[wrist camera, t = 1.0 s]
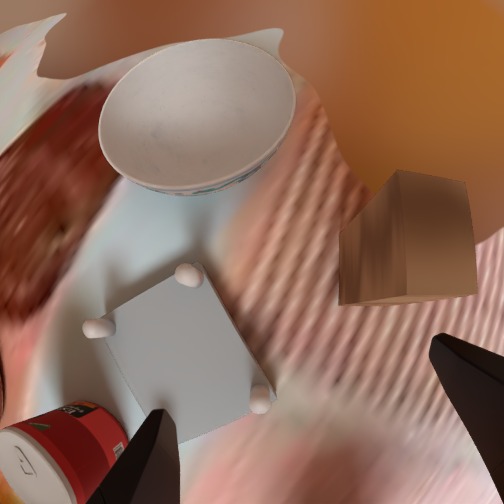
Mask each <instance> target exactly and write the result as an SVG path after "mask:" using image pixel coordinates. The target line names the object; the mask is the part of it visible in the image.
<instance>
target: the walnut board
mask: <svg viewBox="0 0 504 504" xmlns="http://www.w3.org/2000/svg"><path fill="white" fill-rule="evenodd" d="M475 294H478V287H477V266H476V253H475V243H474V234H473V226H472V219H471V212H470V206H469V200H468V195H467V190H466V185H465V182H461V181H456V180H452V179H447V178H442V177H437V176H432V175H426V174H421V173H414V172H409V171H403V170H397V171H396V172H395V173H394V174H393V175H392V176H391V178H390V179H389V180H388V181H387V182H386V183H385V184H384V185H383V187H382V188H381V189H380V190H379V191H378V192H377V194H375V196H374V197H373V198H372V199H371V200H370V201H369V202H368V203H367V204H366V206H365V207H364V208H363V209H362V210H361V211H360V212H359V213H358V214H357V215H356V216H355V218H354V219H353V220H352V221H351V222H350V223H349V224H348V225H347V226H346V227H345V228H344V229H343V230H342V232H341V233H340V234H339V306H392V305H401V304H410V303H418V302H426V301H434V300H441V299H449V298H456V297H462V296H469V295H475Z"/></svg>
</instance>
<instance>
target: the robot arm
mask: <svg viewBox="0 0 504 504" xmlns="http://www.w3.org/2000/svg"><path fill="white" fill-rule="evenodd" d="M429 359H430V361H431V363H432V365H433V367H434V369H435V371H436V374H437V376H438V378H439V380H440V382H441V384H442V386H443V388H444V390H445V392H446V394H447V396H448V398H449V399H450V401H451V403H452V404H453V406H454V408H455V409H456V411H457V413H458V415H459V416H460V418H461V420H462V422H463V423H464V425H465V427H466V429H467V431H468V432H469V434H470V436H471V438H472V440H473V442H474V444H475V445H476V447H477V449H478V451H479V453H480V455H481V457H482V459H483V461H484V463H485V465H486V467H487V469H488V471H489V473H490V476H491V478H492V480H493V482H494V484H495V486H496V488H497V491H498V493H499V495H500V497H501V500H502V502H503V504H504V357H503V356H501V355H498V354H496V353H493V352H491V351H488V350H486V349H483V348H481V347H478V346H476V345H473V344H471V343H468V342H466V341H463V340H461V339H458V338H456V337H453V336H451V335H448V334H446V333H440V334H438V335H435V336H434V337H433V338H432V341H431V346H430V350H429ZM85 504H180V461H179V451H178V441H177V429H176V424H175V422H174V420H173V419H172V418H171V416H170V415H169V413H168V412H167V410H166V409H164V408H160V409H153V410H152V411H151V412H150V413H149V415H148V416H147V418H146V419H145V421H144V422H143V423H142V425H141V426H140V428H139V429H138V431H137V432H136V433H135V435H134V436H133V438H132V439H131V440H130V442H129V443H128V445H127V446H126V448H125V449H124V450H123V452H122V453H121V455H120V456H119V457H118V459H117V460H116V462H115V463H114V464H113V466H112V467H111V469H110V470H109V472H108V473H107V474H106V476H105V477H104V479H103V480H102V481H101V483H100V484H99V486H98V487H97V488H96V490H95V491H94V492H93V494H92V495H91V496H90V498H89V499H88V500H87V502H86V503H85Z"/></svg>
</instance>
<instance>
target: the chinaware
mask: <svg viewBox="0 0 504 504" xmlns="http://www.w3.org/2000/svg"><path fill="white" fill-rule="evenodd" d="M295 108H296V93H295V88H294V84H293V82H292V79H291V77H290V75H289V73H288V72H287V70H286V69H285V68H284V66H283V65H282V64H281V63H280V62H279V61H278V60H277V59H276V58H274V57H273V56H272V55H270V54H269V53H267V52H266V51H264V50H262V49H260V48H258V47H256V46H253V45H250V44H247V43H244V42H240V41H235V40H229V39H200V40H193V41H188V42H183V43H180V44H176V45H173V46H170V47H168V48H165V49H163V50H160V51H158V52H156V53H154V54H152V55H151V56H149V57H147V58H146V59H144V60H142V61H141V62H139V63H138V64H137V65H135V66H134V67H133V68H132V69H131V70H129V71H128V72H127V73H126V74H125V75H124V76H123V77H122V78H121V79H120V80H119V82H118V83H117V84H116V85H115V87H114V88H113V89H112V91H111V92H110V94H109V96H108V98H107V99H106V101H105V104H104V106H103V109H102V112H101V115H100V120H99V141H100V145H101V149H102V151H103V153H104V155H105V157H106V159H107V160H108V162H109V163H110V164H111V166H112V167H113V168H114V169H115V170H116V171H117V172H119V173H120V174H121V175H122V176H124V177H125V178H127V179H129V180H130V181H132V182H134V183H136V184H138V185H140V186H142V187H145V188H147V189H150V190H153V191H156V192H160V193H164V194H170V195H178V196H196V195H204V194H209V193H214V192H217V191H221V190H224V189H226V188H229V187H231V186H233V185H236V184H237V183H239V182H241V181H243V180H245V179H246V178H248V177H249V176H251V175H252V174H253V173H255V172H256V171H257V170H258V169H260V168H261V167H262V166H263V165H264V164H265V163H266V162H267V161H268V160H269V159H270V158H271V156H272V155H273V154H274V153H275V152H276V150H277V149H278V147H279V146H280V144H281V143H282V141H283V140H284V138H285V136H286V134H287V132H288V130H289V128H290V126H291V123H292V121H293V118H294V114H295Z"/></svg>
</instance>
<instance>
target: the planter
mask: <svg viewBox="0 0 504 504" xmlns="http://www.w3.org/2000/svg"><path fill="white" fill-rule="evenodd" d="M2 413H3V388H2V380H1V373H0V421H1V418H2Z"/></svg>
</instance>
